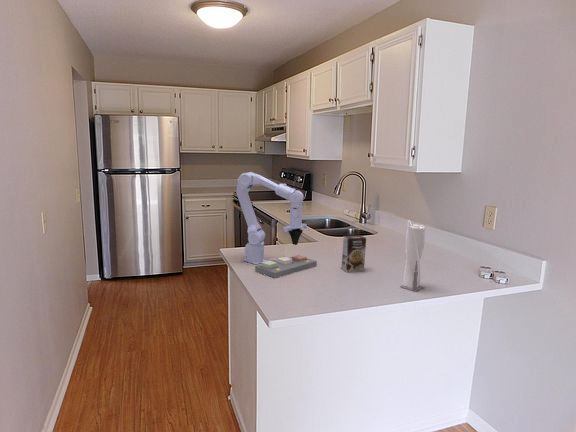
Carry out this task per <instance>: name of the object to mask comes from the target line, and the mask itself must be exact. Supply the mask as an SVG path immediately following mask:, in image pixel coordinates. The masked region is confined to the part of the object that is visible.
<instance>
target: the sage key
mask: <svg viewBox="0 0 576 432" xmlns="http://www.w3.org/2000/svg"><path fill="white" fill-rule="evenodd" d="M260 265H261V267H262V268H265V269H268V270H271V269H274V268H277V263H276V262H274V261H272V260H267V261H265V262H262V263H260Z"/></svg>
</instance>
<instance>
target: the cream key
mask: <svg viewBox="0 0 576 432" xmlns="http://www.w3.org/2000/svg"><path fill="white" fill-rule="evenodd" d="M276 261H277V263H278V264H281V265H284V266H285V265H289V264H292V259H291V258H289V257H287V256H282V257H278V258H277V259H276Z"/></svg>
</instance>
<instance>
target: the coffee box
mask: <svg viewBox="0 0 576 432" xmlns="http://www.w3.org/2000/svg"><path fill="white" fill-rule="evenodd" d="M342 239H343V241H342V256H341V269H342V270H343V271H344V272H345V273H357V272H358V273H359V272H365V264H366V263H365V262H366V249H367V248H366V247H367V238H366V237H365V236H363V235H343V238H342Z"/></svg>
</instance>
